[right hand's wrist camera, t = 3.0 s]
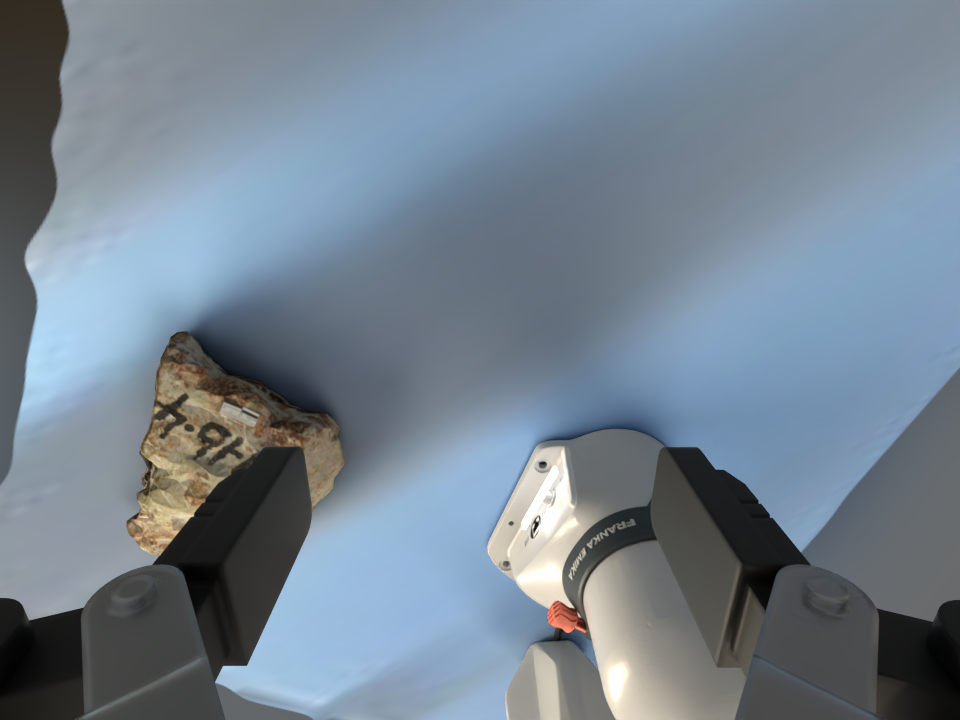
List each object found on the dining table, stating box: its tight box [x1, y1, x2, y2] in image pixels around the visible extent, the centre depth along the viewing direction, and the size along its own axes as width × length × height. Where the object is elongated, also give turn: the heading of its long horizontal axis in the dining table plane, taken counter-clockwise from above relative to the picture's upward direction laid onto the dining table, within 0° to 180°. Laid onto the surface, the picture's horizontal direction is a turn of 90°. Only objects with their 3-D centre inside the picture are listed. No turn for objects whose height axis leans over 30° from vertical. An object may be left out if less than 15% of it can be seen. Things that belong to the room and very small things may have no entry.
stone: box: [126, 331, 345, 556], centre depth 50 cm, size 19×6×25 cm
